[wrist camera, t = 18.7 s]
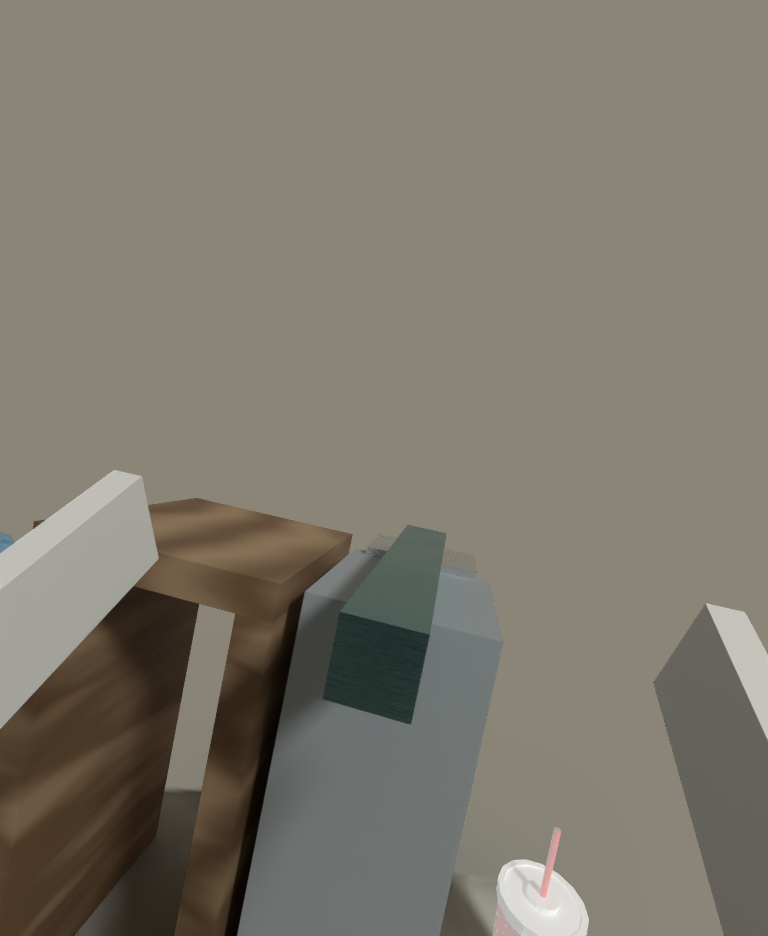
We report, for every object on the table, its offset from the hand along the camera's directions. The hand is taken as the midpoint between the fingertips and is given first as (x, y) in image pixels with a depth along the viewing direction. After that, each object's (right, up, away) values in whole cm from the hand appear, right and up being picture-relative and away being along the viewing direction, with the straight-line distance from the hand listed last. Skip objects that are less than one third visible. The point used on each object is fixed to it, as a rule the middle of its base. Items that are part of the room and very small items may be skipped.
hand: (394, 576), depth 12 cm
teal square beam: (+1, -5, +16) cm, 17 cm away
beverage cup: (+9, -36, +22) cm, 44 cm away
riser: (-17, -31, +22) cm, 42 cm away
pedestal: (-4, -34, +19) cm, 39 cm away
